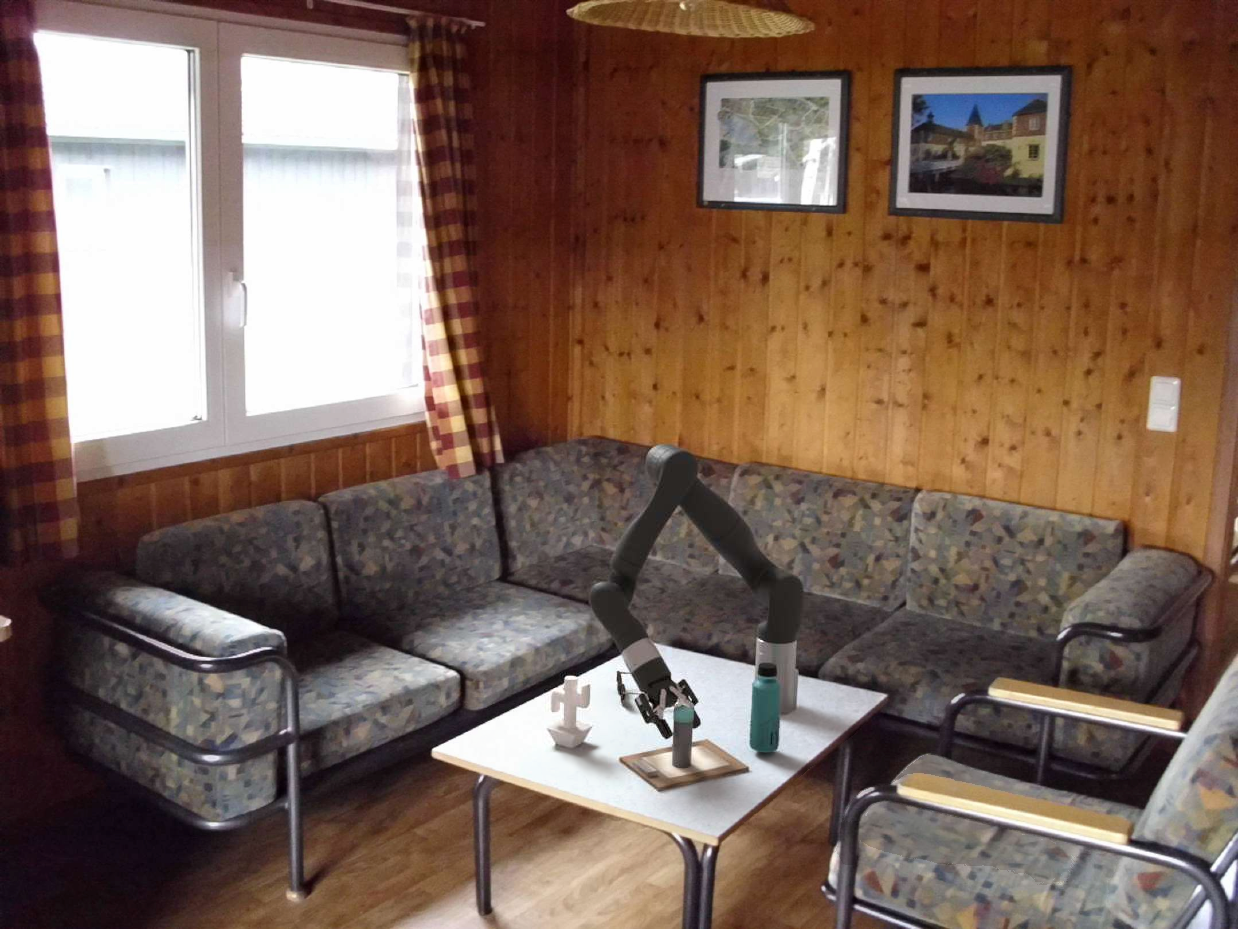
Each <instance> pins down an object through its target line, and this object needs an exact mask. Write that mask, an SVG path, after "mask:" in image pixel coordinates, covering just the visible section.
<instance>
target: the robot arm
mask: <svg viewBox="0 0 1238 929" xmlns="http://www.w3.org/2000/svg"><path fill="white" fill-rule="evenodd" d="M645 458H646V459H645V470H646V473H647V475H648V477H649V479H650V480H651V482H653V483H655V484H656V487H655V490H654V492H653V495H652V497H651V498H650V500H649V502H648V503H647V505H646V506H645V507H644V509H643V510H642V511H641V512H640V514H638V516H637V517H636V518H635V519H634V520H633V521H632V522H631V523H630V524H629V525H628V526H627V528H626V529H625V531H624V532H623V534H622V536H621V538H620V539H619V541H618V543H617V545H616V547H615V549H614V550H613V554H612V555H611V557H610V560H609V567H610V569H611V571H610V574H609V577H608V579H607V581H601V582H597V583H595V584H594V585H593V586H592V587H591V588H590V590H589V592H588V603H589V605H590V606H589V607H590V609H591V610H592V613H593V614H594V616H595V617H596V619H598V621H599V622H600V623H601V625H602V626H603V628H604V629H605V630H606V632H608V634H609V635H610V636H611V638H612V640H613V642H614V644H615V645H616V648H617V649H618V652H619V653H620V655H621V657H622V659H623V661H624V664H625V666H626V668H627V671H629V673H631V674H630V675H631V677H632V679H633V681H634V683H635V684H636V686H637V688H638V689H639V690H638V691H640V692H641V694H640V695H637V696H636V697H635V698H634V703H635V705H636V707H637V709H638V711H639V713H640V715H641V717H642V719H643V721H644V722H645V724H647V725H649V724H653V725H655V726H656V728H657V730H658V731H659V733H660V735H661V737H662V738H663V739H665V740H669V739H670V738H672V737H673V730H672V728H671V727H670V726H669V724H668V722H667V720H666V718H664V710H665V709H669V708H672V707H673V708H675V707H678V706H687V707H691V708H693V709H694V720H693V730H695V729H697V728H699V727H700V726H701V725H702V722H701V718H700V717H699V715H698V713H697V712H696V709H695V707H696V705H698V703H699V699H698V697H697V696H696V694H695V692H694V691H693V689H692V688H691V686H690V685H689V683H688V682H687V680H686V679H684V678H682V679H681V680H680V681H678V682H675V681H674V680H673V679H672V672H671V670H670V669H669V667H668V665H667V663H666V661H665V660H664V658H663V656H662V655H661V653H660V651H659V649H658V648H657V646H656V645H655V643H654V642H653V641H652V638H650V636H649V634H648V633H647V631H646V629H645V627H644V625H643V624H642V622H641V621H640V619H638V618H637V617H636V616H634V615H633V613H631V611H630V610H629V606H630V604H631V603H632V600H633V598H634V595H635V591H636V587H637V584H638V580H639V575H640V573H641V571H642V570H643V567H644V566H645V564H646V562H647V560H648V557H649V555H650V553H651V552H652V551H651V550H652V549H653V547H654V545H655V543H656V541H657V539H658V538H659V536H660V535H661V532H662V531H663V529H664V527H665V526H666V525H667V523H668V522H669V520H670V519H671V517H672V516H673V514H674V512H675V511H676V509H677V508H678V507H680V508H681V510H682V511H683V512H684V514H685V515H686V516H687V518H688V519H689V521H691V523H692V524H693V525H694V526H695V528H696V529H697V530H698V531H699V532H700V534H701V535H702V536H703V538H704V539H705V540H706V541H707V542H708V543H709V544H710V546H711V547H712V548H713V550H715V551H716V553H717V554H719V555H720V556H721V557H722V558H723V559H724V560H725V561H726V562H727V563H728V564H729V565H730V566H731V567H732V568H733V569H734V570H735V571H736V572H737V573H738V574H739V575H740V576H741V578H742V580H743V581H744V582H745V584H746V585H747V587H748V589H749V590H750V592H751V593H752V594H753V595H754V598H756V599H757V601H759V603H761V604H762V605H764V606H765V607H767V609H768V610H767V619H766V620H764V621H761V622H759V624H757V628H756V644H755V645H756V648H755V650H756V651H755V662H754V663H755V664H754V665H755V667H754V668H755V669H754V681H755V680H756V679H758V678H759V677H762V676H760V675H758V666H759V664H760V663H765V662H768V663H773V664H775V665H776V666H777V676H775V677H772V678H775V679H776V680H777V681H778V682H779V683H780V684H781V707H780V708H781V709H780V710H781V711H780V716H781V715H787V714H790V713H791V712H792V711H793V710H796V709H797V705H798V704H797V702H798V689H799V688H798V687H799V686H798V685H799V682H798V681H799V669H797V668H796V660H797V659H796V657H797V641H798V633H799V631H800V629H801V626H802V621H803V613H804V612H803V610H804V602H805V589H804V584H803V581H802V580H801V579H800V578H799V577H798V576H797V575H795V574H793V573H791V572H789V571H786V570H784V569H783V568H780V567H779V566H777V565H776V564H775V563H773V561H771V560H770V558H768V557H767V556H766V555H765V554H764V553H763V551H761V549H760V548H759V546H758V544H757V542H756V539H755V537H754V533H753V531H752V529H751V528H750V526H749V525H748V523H747V521H745V519H743V517H742V516H741V515H740V514H739V513H738V511H737V510H736V509H735V508H734V507H733V506H732V505H731V504H730V503H729V502H727V501H726V500H725V499H724V498H723V497H721V496H720V495H719V494H718V493H716V492H715V491H714V490H712V489H711V488H710V487H709V486H707V485H706V484H704V482H703V481H701V480H700V478H699V477H698V474H699V463H698V460H697V458H696V457H695V455H694V454H693V453H692V452H690V451H689V450H686V449H683V448H681V447H679V446H677V445H673V444H670V443H669V444H668V443H661V444H657V445H655V446H653V447H652V448H650V450H649V451H648V452H647V454H646V457H645ZM672 680H673V681H674V682H675V683H676V684H675V683H674V682H673V681H672ZM678 699H680V700H678Z"/></svg>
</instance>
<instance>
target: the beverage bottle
mask: <svg viewBox="0 0 1238 929" xmlns="http://www.w3.org/2000/svg"><path fill="white" fill-rule="evenodd" d="M758 675H760V676H762V677H759V678H758V679H756V680H755V679H754V681H753V682H751V683H752V684H751V686H752V687H751V688H752V689H751V705H750V706H751V709H750V720H749V721H750V725H749V735H748V736H749V740H748V742H749V745H750V746H749V747H750V748H751V749H752V750H754V751H757V752H761V753H772V752H776V751H777V750H778V749H779V747H780V739H781V736H780V729H781V728H780V727H781V715H780V711H781V710H780V709H781V708H780V707H781V684H780V683H779V682H778V681H777V680H776V679H775V678H772V677H775V676H777V666H776V665H775V664H773V663H768V662H765V663H760V664H759V666H758Z"/></svg>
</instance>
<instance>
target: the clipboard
mask: <svg viewBox="0 0 1238 929" xmlns="http://www.w3.org/2000/svg"><path fill="white" fill-rule="evenodd" d="M672 748H673V745H671V746H667V747H662V748H658V749H652V750H649V751H642V752H639V753H634V754H633V753H632V754H629V755H623V756H620V757H618V761H619V762H620V763H621V764H622V765H624V766H625V767H627V768H628V769H629V770H630V771H632V772H633V773H634V774H636V775H637V776H638V777H639V778H641V779H642V780H643V781H645V782H646V783H647V784H648V785H650V786H651V787H653V788H654V789H655V790H657V791H658V792H660V791H664V790H669V789H673V788H678V787H682V786H683V787H684V786H687V785H691V784H696V783H700V782H705V781H710V780H713V779H718V778H722V777H726V776H732V775H735V774H739V773H744V772H749V771H750V766H749V765H747V764H746V763H744V762H742V761H741V760H739V759H738V758H737V757H736V756H733V755H732V754H730V753H728V752H727V751H726V750H725V749H723V748H721V747H720V746H718V745H717V744H715V743H714V742H712V741H711V740H709V739H708V738H705V739H701V740H696V741H692V755H691V766H690V767H688V768H677V767H674V766H673V765H672Z"/></svg>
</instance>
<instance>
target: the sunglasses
mask: <svg viewBox="0 0 1238 929" xmlns="http://www.w3.org/2000/svg"><path fill="white" fill-rule="evenodd" d="M622 674H623V675H626V674H627V675H631V673H630V672H628V671H620V670H617V671H616V680H615V682H617V684H616V686H617V687H616V690H617V693H618V695H619V696H620V703H621V706H624V702H625V700H626V695H632V696H633V695H637V696H639V695H640V694H641V693H642V692H641V693H639V692H631V691H626V685H625V683H623V679H622ZM672 681H673V682H674V683H675V684H676V683H677V682H675V680H673V679H672ZM678 700H680V699H678Z"/></svg>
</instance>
